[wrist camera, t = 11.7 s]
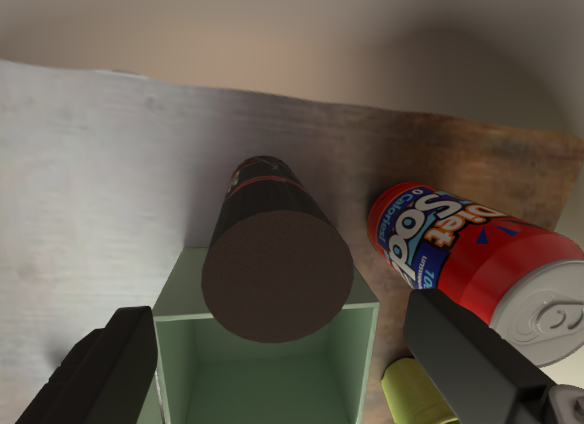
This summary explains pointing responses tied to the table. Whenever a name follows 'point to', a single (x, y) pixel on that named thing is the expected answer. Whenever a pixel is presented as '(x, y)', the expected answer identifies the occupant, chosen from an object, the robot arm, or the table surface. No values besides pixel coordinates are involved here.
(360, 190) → the table surface
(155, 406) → the flap
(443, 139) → the table surface
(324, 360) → the carton
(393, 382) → the plant pot
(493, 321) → the soda can
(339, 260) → the deodorant
